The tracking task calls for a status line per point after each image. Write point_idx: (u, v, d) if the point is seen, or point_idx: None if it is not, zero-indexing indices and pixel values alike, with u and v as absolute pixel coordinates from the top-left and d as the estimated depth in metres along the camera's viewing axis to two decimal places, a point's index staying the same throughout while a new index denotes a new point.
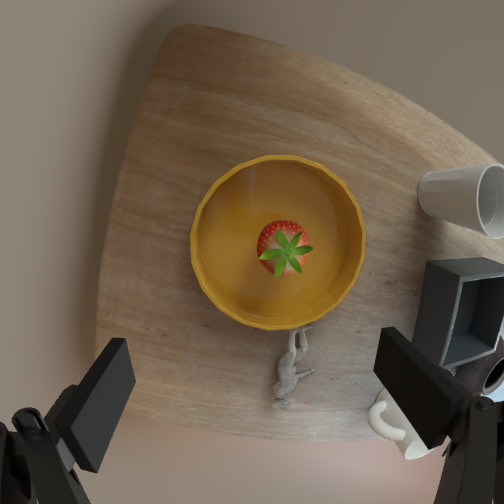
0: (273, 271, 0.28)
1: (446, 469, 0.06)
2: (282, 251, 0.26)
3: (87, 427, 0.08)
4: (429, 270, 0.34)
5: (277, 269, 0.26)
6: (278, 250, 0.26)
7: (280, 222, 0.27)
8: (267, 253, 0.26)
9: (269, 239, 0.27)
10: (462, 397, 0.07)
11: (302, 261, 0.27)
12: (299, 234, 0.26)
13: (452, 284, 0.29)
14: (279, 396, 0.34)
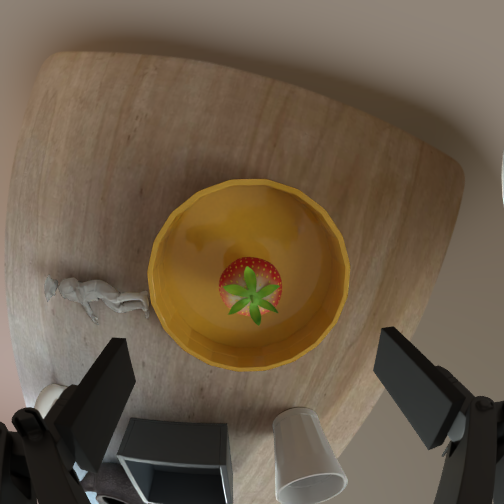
0: (226, 280, 0.23)
1: (446, 469, 0.06)
2: (253, 291, 0.23)
3: (87, 427, 0.08)
4: (218, 428, 0.33)
5: (233, 287, 0.22)
6: (254, 287, 0.23)
7: (281, 284, 0.24)
8: (250, 274, 0.22)
9: (266, 275, 0.23)
10: (462, 397, 0.07)
11: (239, 312, 0.24)
12: (274, 309, 0.23)
13: (214, 458, 0.28)
14: (61, 286, 0.25)
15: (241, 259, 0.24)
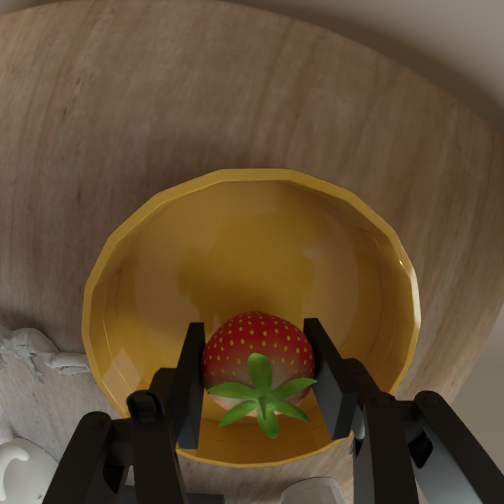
0: (213, 366, 0.12)
1: (356, 470, 0.07)
2: (265, 389, 0.11)
3: (193, 403, 0.10)
4: (212, 502, 0.21)
5: (226, 387, 0.10)
6: (268, 383, 0.11)
7: None
8: (261, 363, 0.11)
9: (289, 360, 0.11)
10: (357, 389, 0.09)
11: None
12: (303, 416, 0.11)
13: None
14: None
15: (241, 324, 0.13)
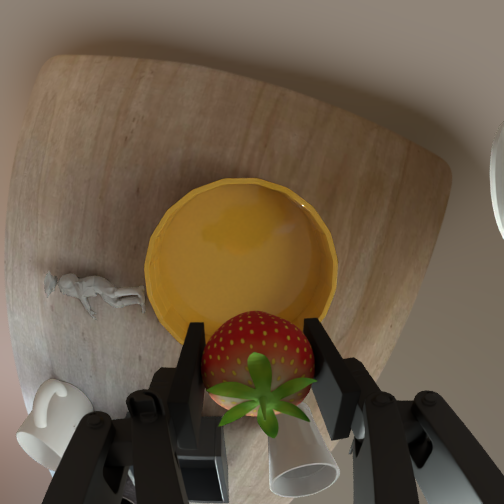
0: (213, 366, 0.12)
1: (356, 470, 0.07)
2: (265, 389, 0.11)
3: (193, 403, 0.10)
4: (213, 421, 0.34)
5: (226, 386, 0.10)
6: (268, 382, 0.11)
7: None
8: (260, 362, 0.11)
9: (289, 360, 0.11)
10: (357, 389, 0.09)
11: None
12: (302, 416, 0.11)
13: (209, 449, 0.29)
14: (60, 281, 0.26)
15: (241, 324, 0.13)
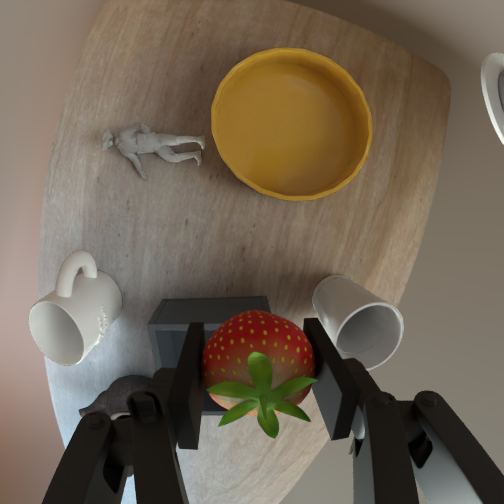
0: (213, 365, 0.11)
1: (356, 470, 0.07)
2: (265, 388, 0.11)
3: (193, 403, 0.10)
4: (258, 299, 0.37)
5: (226, 386, 0.10)
6: (268, 382, 0.11)
7: None
8: (261, 362, 0.11)
9: (290, 360, 0.11)
10: (357, 389, 0.09)
11: None
12: (303, 416, 0.11)
13: None
14: (122, 133, 0.29)
15: (241, 323, 0.13)
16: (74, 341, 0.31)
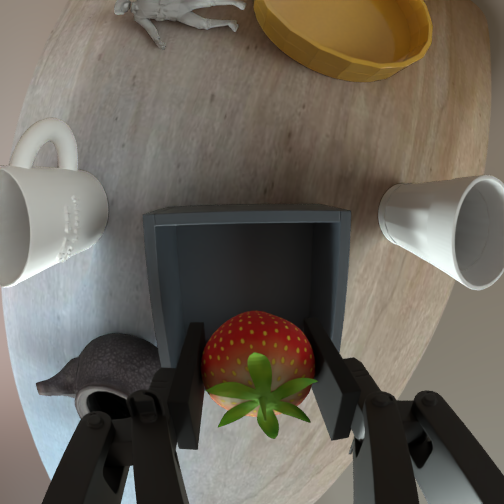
0: (213, 366, 0.11)
1: (356, 470, 0.07)
2: (265, 389, 0.11)
3: (193, 403, 0.10)
4: (311, 204, 0.25)
5: (226, 387, 0.10)
6: (268, 383, 0.11)
7: None
8: (260, 363, 0.11)
9: (289, 360, 0.11)
10: (356, 389, 0.09)
11: None
12: (303, 416, 0.11)
13: (326, 208, 0.20)
14: None
15: (241, 324, 0.13)
16: None
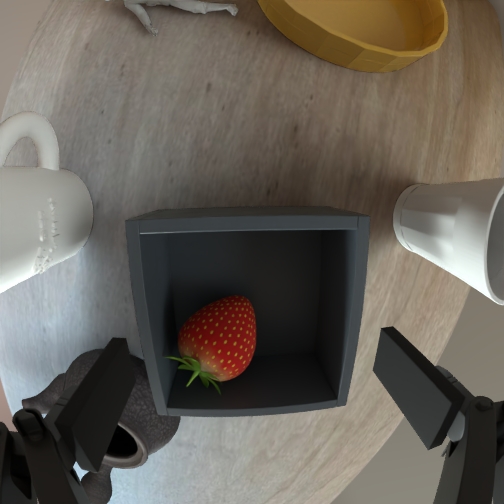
0: (179, 340, 0.19)
1: (446, 469, 0.06)
2: (198, 368, 0.18)
3: (88, 427, 0.08)
4: (320, 207, 0.22)
5: (176, 358, 0.18)
6: (199, 367, 0.18)
7: (241, 367, 0.19)
8: (193, 359, 0.17)
9: (213, 365, 0.18)
10: (462, 397, 0.07)
11: None
12: (218, 390, 0.19)
13: (341, 213, 0.17)
14: None
15: (201, 325, 0.18)
16: None
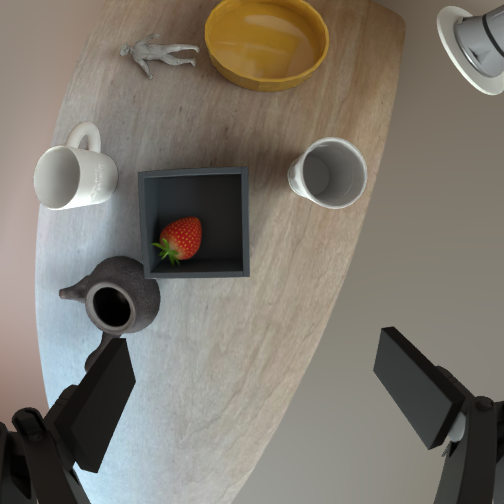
0: (160, 236, 0.38)
1: (446, 469, 0.06)
2: (168, 249, 0.37)
3: (87, 427, 0.08)
4: None
5: (157, 244, 0.37)
6: (168, 248, 0.37)
7: (190, 248, 0.37)
8: (165, 241, 0.36)
9: (175, 244, 0.36)
10: (462, 397, 0.07)
11: None
12: (178, 263, 0.37)
13: None
14: (137, 42, 0.32)
15: (171, 225, 0.37)
16: None
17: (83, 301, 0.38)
